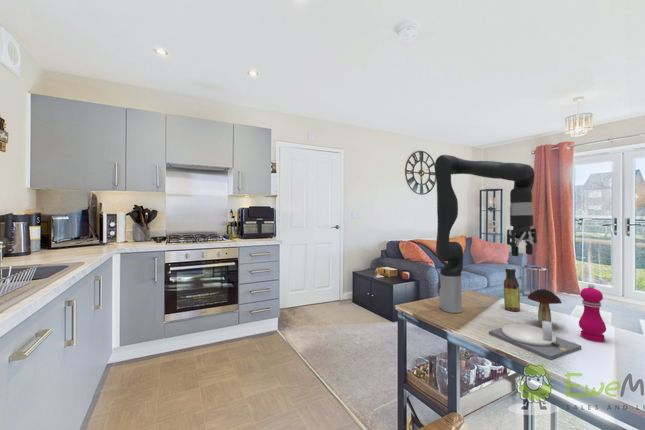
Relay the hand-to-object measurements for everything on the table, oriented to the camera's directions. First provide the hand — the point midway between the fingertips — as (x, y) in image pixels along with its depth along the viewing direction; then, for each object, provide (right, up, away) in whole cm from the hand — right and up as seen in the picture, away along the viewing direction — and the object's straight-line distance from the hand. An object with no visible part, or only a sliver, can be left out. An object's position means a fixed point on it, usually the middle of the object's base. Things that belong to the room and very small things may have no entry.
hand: (522, 255), depth 109 cm
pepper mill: (+21, -30, -7) cm, 37 cm away
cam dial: (-3, -29, -8) cm, 30 cm away
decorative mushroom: (+13, -30, +5) cm, 33 cm away
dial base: (-2, -30, -8) cm, 31 cm away
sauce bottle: (+13, -30, +24) cm, 41 cm away
